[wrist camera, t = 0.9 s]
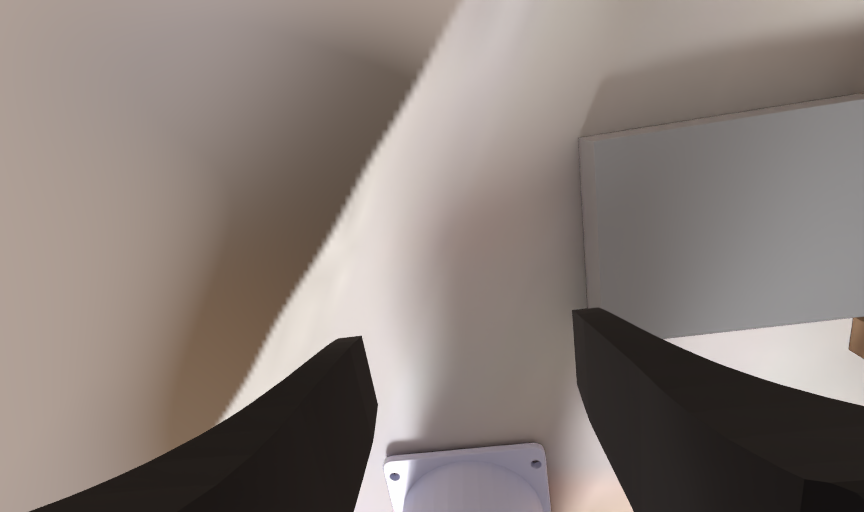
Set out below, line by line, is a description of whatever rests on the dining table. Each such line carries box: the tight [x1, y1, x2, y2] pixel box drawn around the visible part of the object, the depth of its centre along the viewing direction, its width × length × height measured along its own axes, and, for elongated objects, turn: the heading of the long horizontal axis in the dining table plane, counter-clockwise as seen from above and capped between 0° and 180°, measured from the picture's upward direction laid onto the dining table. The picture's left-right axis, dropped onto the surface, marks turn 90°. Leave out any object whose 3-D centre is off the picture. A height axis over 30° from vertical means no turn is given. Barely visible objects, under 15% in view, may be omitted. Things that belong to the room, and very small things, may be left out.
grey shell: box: [578, 93, 864, 339], centre depth 17 cm, size 8×10×2 cm
